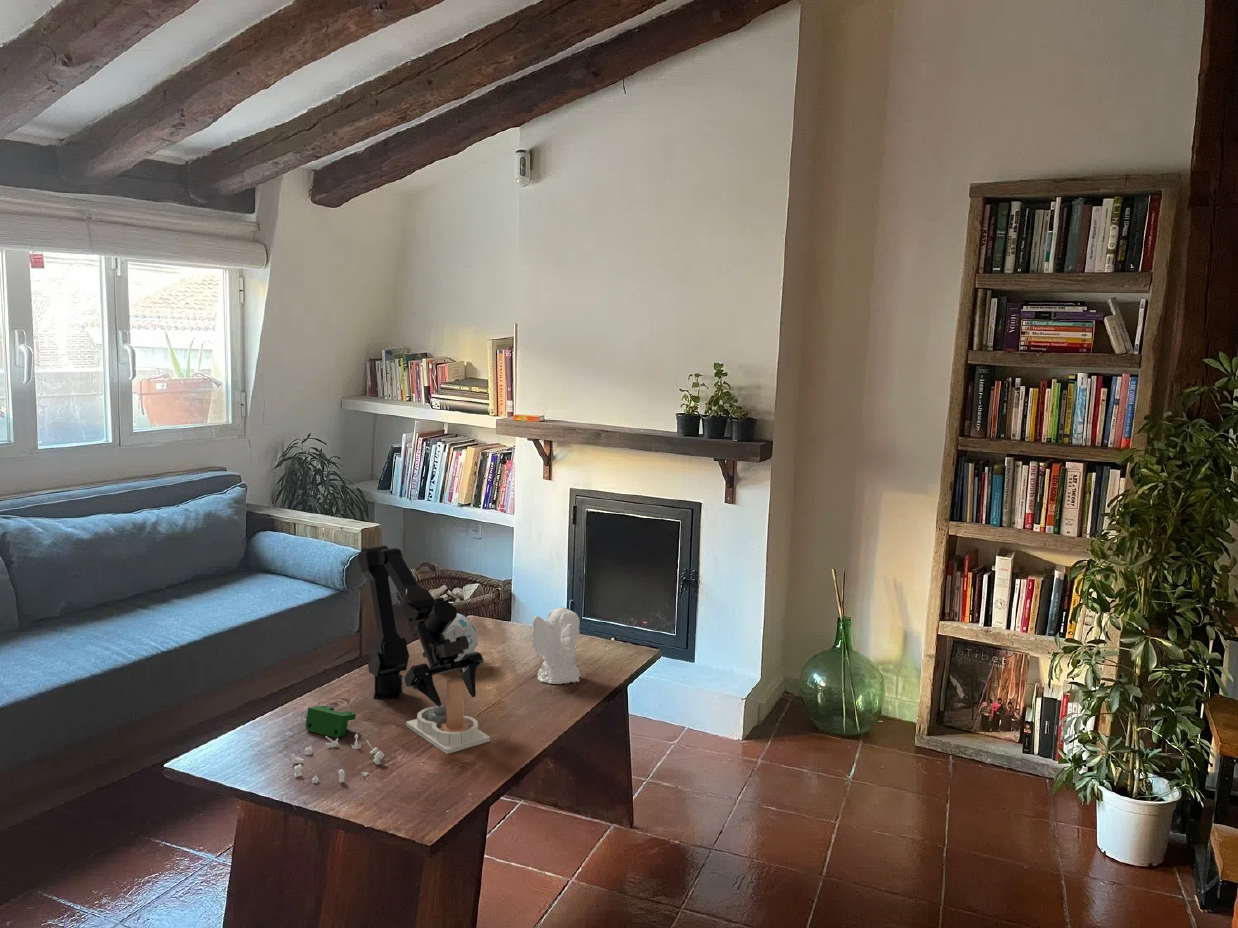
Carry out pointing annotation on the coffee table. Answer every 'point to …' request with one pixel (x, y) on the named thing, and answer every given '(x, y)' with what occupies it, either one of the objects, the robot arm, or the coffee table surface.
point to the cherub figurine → (557, 646)
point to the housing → (443, 740)
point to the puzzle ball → (462, 633)
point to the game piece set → (309, 750)
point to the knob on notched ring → (455, 707)
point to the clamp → (328, 721)
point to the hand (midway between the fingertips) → (457, 701)
